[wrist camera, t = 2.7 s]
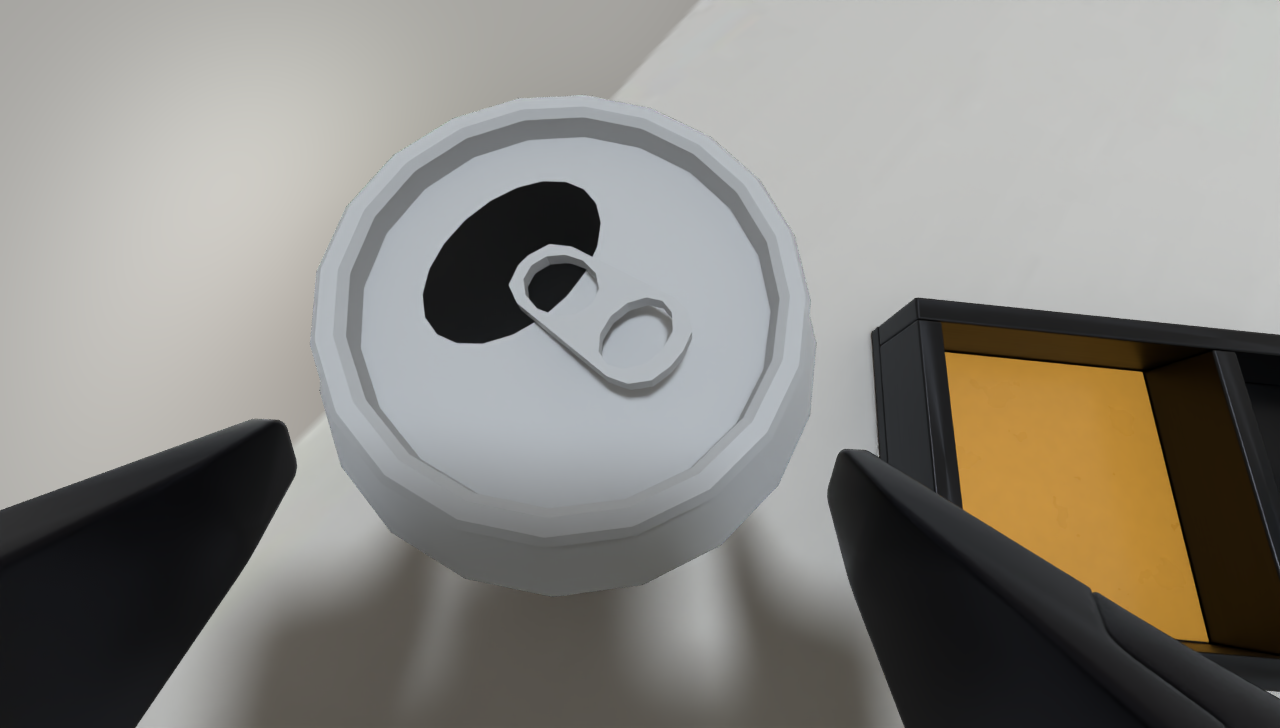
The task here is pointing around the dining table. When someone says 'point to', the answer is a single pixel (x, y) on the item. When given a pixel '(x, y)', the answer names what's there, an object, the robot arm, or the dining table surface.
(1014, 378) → the black divided tray
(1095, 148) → the dining table surface
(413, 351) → the can
